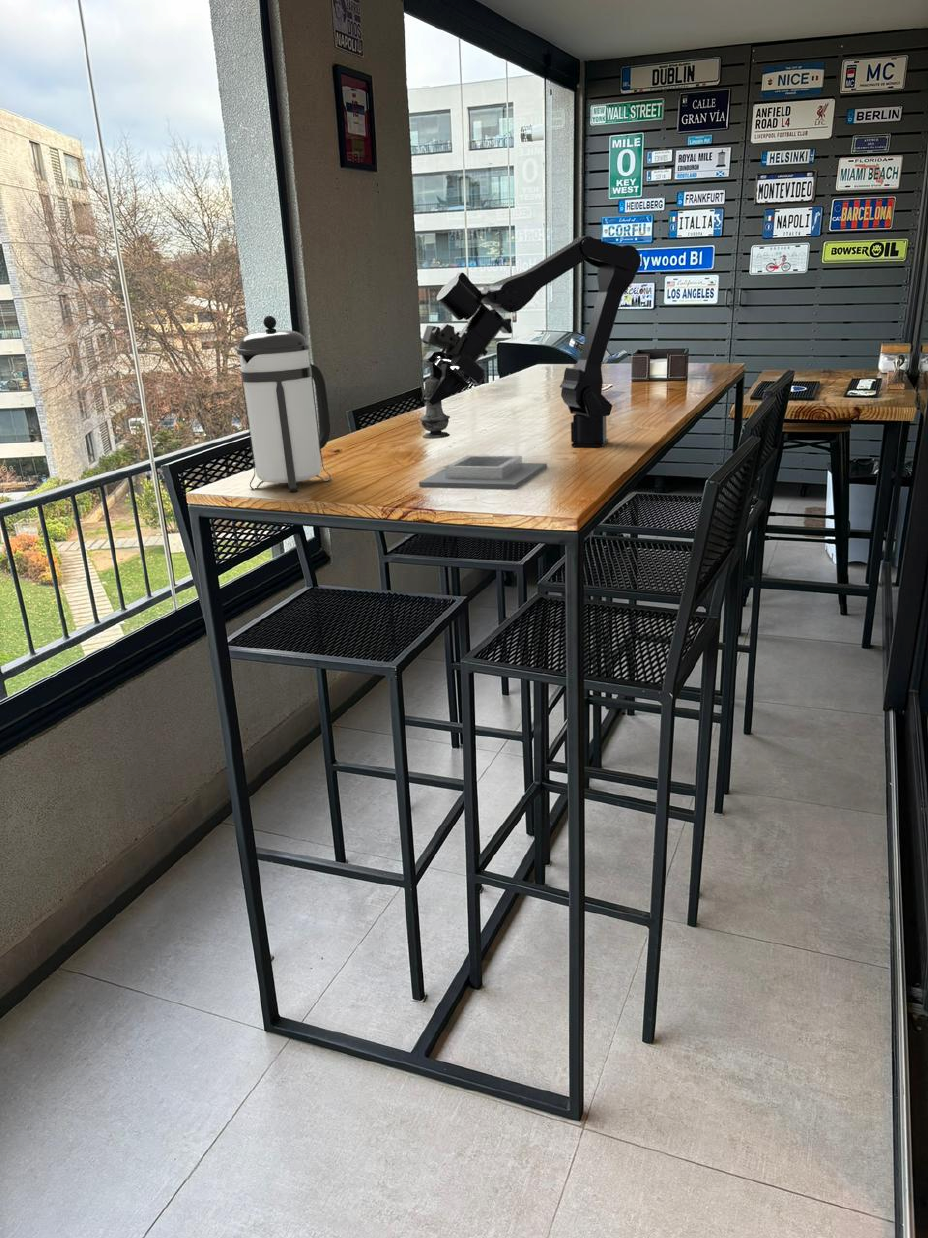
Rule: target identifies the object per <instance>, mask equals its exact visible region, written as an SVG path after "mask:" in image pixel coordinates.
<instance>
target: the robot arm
mask: <svg viewBox="0 0 928 1238" xmlns="http://www.w3.org/2000/svg"><path fill="white" fill-rule="evenodd" d="M582 262H584V263H587V264H588V265H589V266H592V267H594V268H597V272H596V273H597V274H596V276H597V277H596V278H597V284H598V293H597V296H596V299H595V303H594V307H593V311H592V313H591V316H590V320H589V323H588V326H587V330H586V334H585V338H584V341H583V344H582V347H581V351H580V354H579V357H578V361H577V362H576V363H575V365H574V366H573V367H566V368H565V370H564V373H563V378H562V381H561V383H560V385H559V388H561V392H560V397H561V398H562V400H563V402H564V404H565V405H566V406H567V407H568V410H569V412H570V414H571V415H572V414H573V415H572V416H573V417H572V418H573V421H572V422H570V440H571V445H570V446H571V447H581V448H583V447H586V448H587V447H588V448H589V447H595V448H599V447H601V448H602V447H603V446H605V445H606V444H607V443H608V442H609V441H610V440H609V439H608V438H607V417H608V416H610V415H611V411H612V409H613V404H612V403H611V402H610V401H609V400H608V399H607V398H606V397H605V396H604V395H603V394H602V392H603V391H602V390H603V385H604V384H603V383H604V380H603V371H602V365H603V361H604V359H605V355H606V351H607V348H608V346H609V341H610V338H611V336H612V335H611V334H612V332H613V328H614V324H615V321H616V318H617V314H618V311H619V308H620V304H621V302H622V297H623V295H625V292H627V290H628V288H630V286H631V285H632V283H633V282H634V280H635V279H636V276H637V273H638V272H639V270H640V267H641V262H642V256H641V255H640V253H639V251H638V249H637V248H636V247H635V246H634V245H631V244H625V245H618V244H615V243H612V242H607V241H604V240H600V239H597V238H594V237H592V236H591V235H585V236H578V237H576V238H574V239H573V240H572V241H571V242H570V243H569V244H566V245H565V246H563V247H561V249H559V250H557V251H556V252H554V253H552V254H551V255H549V256H547V257H546V258H545V259H543V260H542V261H540V262H537V264H535V265H533V266H532V267H530V268H528V269H527V270H526V271H522V272H519V273H517V274H514V275H511V276H507V277H506V278H503V279H500V280H497V281H495V282H494V283H493V284H492V285H490V286H489V288H488V289H482V290H481V289H479V288H478V287H477V286H476V285H475V284H473V282H472V280H470V279H469V277H468V276H467V275H466V273H465V272H457V274H456V275H455V277H453V278H452V279H450V280H449V281H448V282H447V283H446V284H445V285H443V286H442V288H441V289H439V290H440V291H439V292H438V294H437V296H436V301H437V302H439V303H440V304H441V306H443V308H445V309H446V310H447V311H448V312H449V313H450V314H451V316H453V317H454V318H455V319H456V320H458V321H461V320H463V319H464V320H465V321H468V320H469V321H468V322H467V324H466V325H465V326H464V327H463V329H462V330H457V331H455V326H452V325H451V324H448V323H444V324H443V325H441V327H439V326H437V325H436V326H435V325H426V328H425V331H424V334H423V337H422V340H421V342H422V343H424V344H426V345H428V344H430V345H432V346H435V347H436V348H439V349H440V350H430V351H428V352H427V353H426V354H425V355H424V357H423V358H422V360H423V361H424V362H425V363H426V364H427V365H428V366H429V371H430V374H431V373H432V374H433V377H434V378H436V379H438V380H439V383H438V384H437V386H436V388H435V390H434V391H433V393H432V395H431V397H430V399H429V403H430V404H431V405H434V404H436V403H438V402H439V401H441V402H442V401H443V400H444V399H447V398H448V397H450V396H452V395H455V393H458V392H460V391H461V390H464V389H465V388H468V387H470V384H469V383H468V381H469V380H470V379H471V384H472V385H473V386H478V387H479V386H480V385H481V384H482V383H483V381H484V380H485V379H486V374H485V373H486V371H485V369H483V368H482V366H480V365H479V364H478V363H477V362H478V361H479V359H480V358H481V356H482V357H485V356H486V355H487V354H488V353H489V350H487V349H488V347H489V346H490V344H491V343H492V342H493V340H494V339H495V338H496V336H497V335H498V334H499V333H500V332H501V333H503V334H512V333H513V326H512V319H511V318H504V317H503V316H502V315H501V314H500V313H516V312H519V311H521V310H522V309H523V308H524V307H525V306H526V305H527V304H528V303H530V301H532V299H533V298H534V297H535V296H536V294H537V292H539V291H540V290H541V289H542V288H543V287H545V286H546V285H549V284H550V283H551V282H553V281H555V280H556V279H557V278H559V277H561V276H562V275H564V274H566V273H567V272H568V271H570V270H572V269H573V268H575V267H576V266H578V265H580V264H581V263H582ZM486 305H487V306H490V307H491V309H489V308H488V307H487V306H486ZM425 397H426V395H425V390H424V392H423V394H422V397H421V402H423V403H424V404H426V400H425V399H424V398H425Z"/></svg>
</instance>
